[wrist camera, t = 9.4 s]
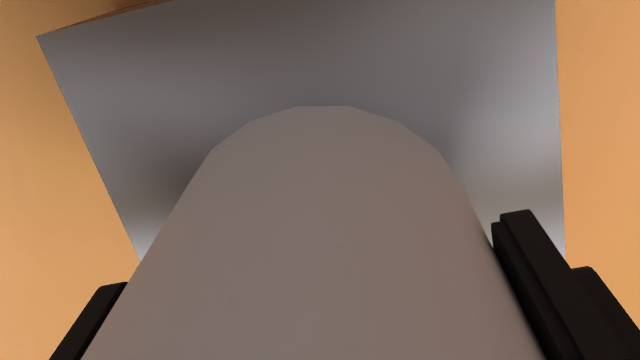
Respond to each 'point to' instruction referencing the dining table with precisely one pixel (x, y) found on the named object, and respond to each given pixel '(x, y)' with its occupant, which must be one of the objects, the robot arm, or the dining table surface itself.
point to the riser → (316, 90)
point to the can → (320, 255)
